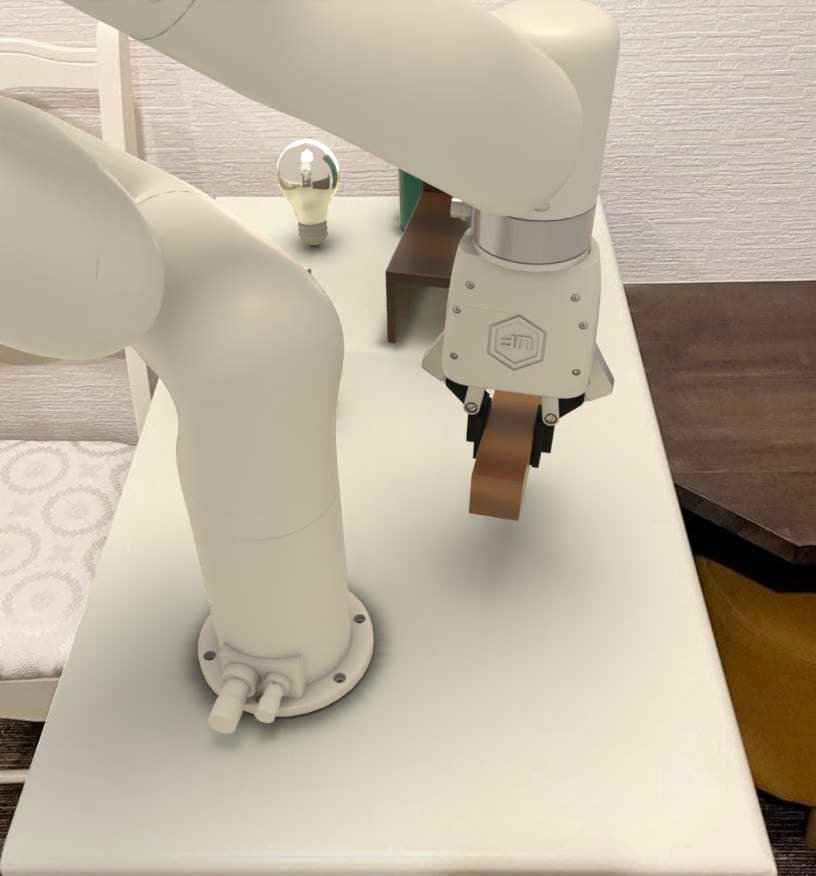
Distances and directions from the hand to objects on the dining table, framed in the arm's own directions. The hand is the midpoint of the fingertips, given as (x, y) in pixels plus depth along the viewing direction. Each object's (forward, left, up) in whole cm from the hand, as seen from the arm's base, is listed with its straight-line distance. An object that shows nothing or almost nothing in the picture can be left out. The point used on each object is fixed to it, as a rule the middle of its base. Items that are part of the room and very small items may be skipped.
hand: (508, 450), depth 75 cm
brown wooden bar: (0, 0, -1) cm, 1 cm away
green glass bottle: (+51, +15, -9) cm, 54 cm away
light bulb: (+43, +28, -9) cm, 52 cm away
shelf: (+34, +9, -8) cm, 36 cm away
